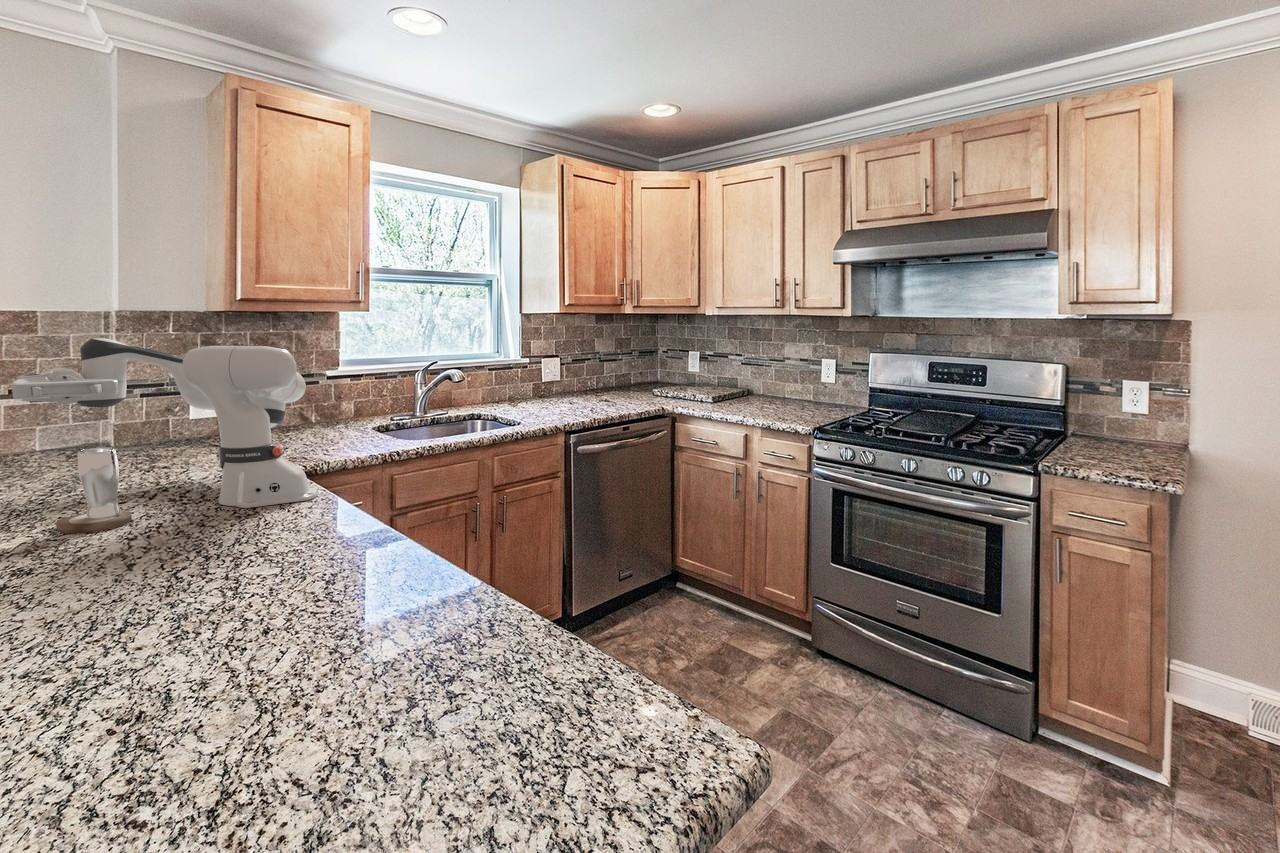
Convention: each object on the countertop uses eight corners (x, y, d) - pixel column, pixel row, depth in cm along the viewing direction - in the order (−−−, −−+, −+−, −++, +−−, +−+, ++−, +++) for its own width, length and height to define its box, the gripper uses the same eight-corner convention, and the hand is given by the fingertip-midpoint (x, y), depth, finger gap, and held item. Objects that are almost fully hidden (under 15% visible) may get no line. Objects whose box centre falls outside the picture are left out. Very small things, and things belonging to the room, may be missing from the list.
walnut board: (138, 514, 158) (137, 507, 158) (122, 529, 146) (121, 522, 146) (69, 520, 153) (68, 512, 153) (46, 536, 141) (45, 528, 141)
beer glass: (100, 521, 146) (93, 453, 144) (75, 519, 148) (67, 452, 146) (131, 512, 153) (124, 448, 151) (107, 510, 155) (100, 446, 152)
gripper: (117, 396, 180) (124, 400, 170) (13, 401, 166) (14, 407, 156) (114, 372, 179) (121, 375, 169) (9, 376, 165) (10, 380, 155)
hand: (69, 390), depth 163 cm, fingers open, 8 cm apart
